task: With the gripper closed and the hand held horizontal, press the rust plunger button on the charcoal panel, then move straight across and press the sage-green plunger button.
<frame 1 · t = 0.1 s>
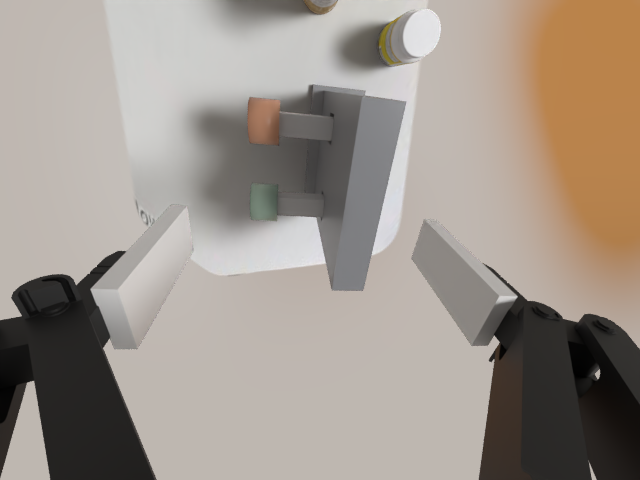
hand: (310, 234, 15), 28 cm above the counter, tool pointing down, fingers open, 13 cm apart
supplement bottle: (393, 44, 35), on the counter
sage button: (300, 204, 34), point 10 cm above the counter, slide at 0.0 cm
button panel: (327, 152, 41), on the counter
rust button: (305, 126, 29), point 10 cm above the counter, slide at 0.0 cm
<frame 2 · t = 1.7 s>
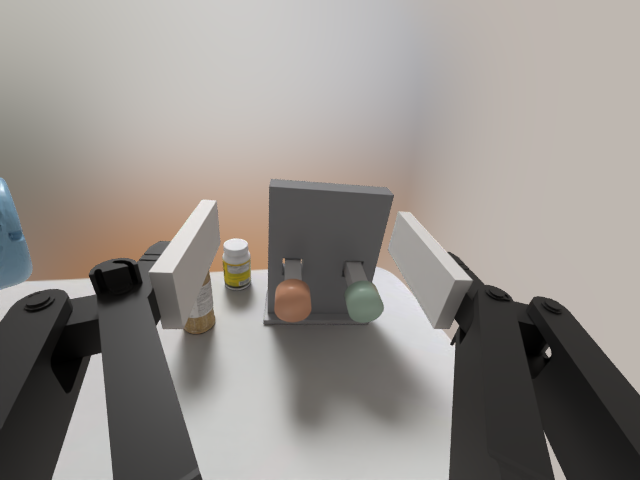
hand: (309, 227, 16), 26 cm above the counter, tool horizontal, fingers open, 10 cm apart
supplement bottle: (238, 283, 51), on the counter
spice jar: (200, 324, 42), on the counter
sage button: (356, 280, 39), point 10 cm above the counter, slide at 0.0 cm
button panel: (315, 310, 47), on the counter
rust button: (292, 278, 37), point 10 cm above the counter, slide at 0.0 cm
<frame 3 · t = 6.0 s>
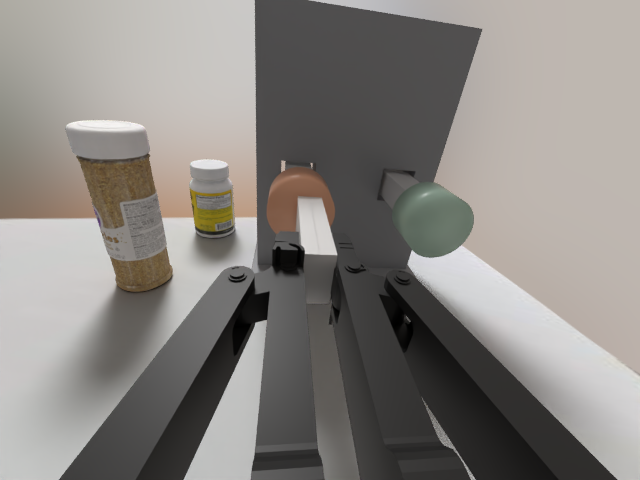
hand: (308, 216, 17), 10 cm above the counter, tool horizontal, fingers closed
supplement bottle: (215, 231, 35), on the counter
spice jar: (147, 279, 26), on the counter
sage button: (406, 196, 23), point 10 cm above the counter, slide at 0.0 cm
button panel: (331, 264, 31), on the counter
rust button: (298, 184, 23), point 10 cm above the counter, slide at 1.3 cm, touching gripper
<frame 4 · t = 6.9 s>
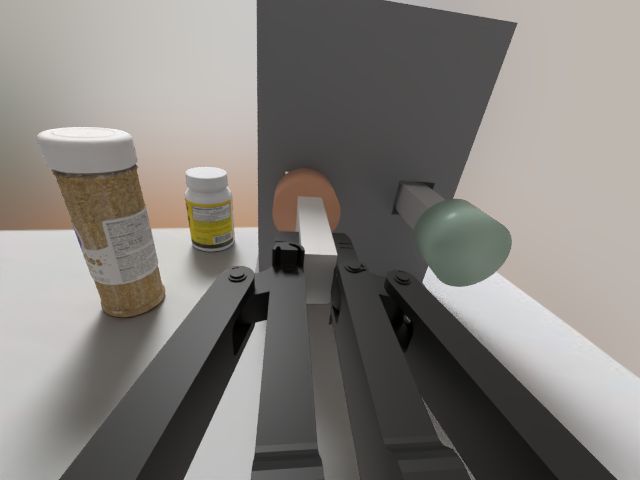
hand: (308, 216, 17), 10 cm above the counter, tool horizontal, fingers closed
supplement bottle: (214, 243, 32), on the counter
spice jar: (137, 301, 23), on the counter
sage button: (426, 212, 20), point 10 cm above the counter, slide at 0.0 cm
button panel: (339, 281, 28), on the counter
rust button: (302, 185, 23), point 10 cm above the counter, slide at 4.3 cm, touching gripper
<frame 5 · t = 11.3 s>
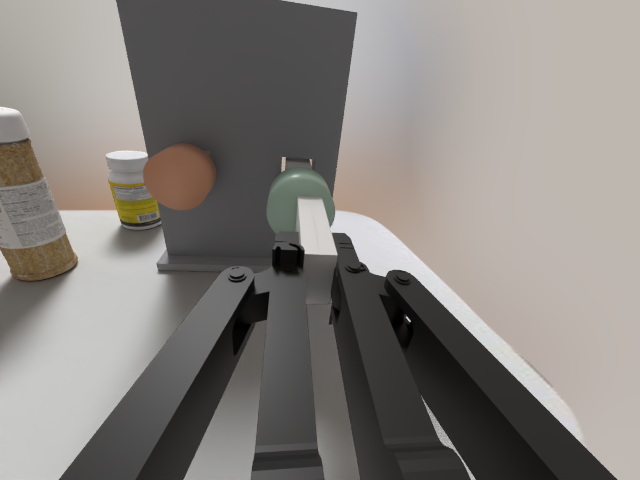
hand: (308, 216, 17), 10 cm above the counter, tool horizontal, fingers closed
supplement bottle: (144, 223, 35), on the counter
spice jar: (49, 269, 25), on the counter
sage button: (298, 184, 22), point 10 cm above the counter, slide at 0.1 cm, touching gripper
button panel: (250, 256, 30), on the counter
rust button: (198, 162, 25), point 10 cm above the counter, slide at 4.3 cm
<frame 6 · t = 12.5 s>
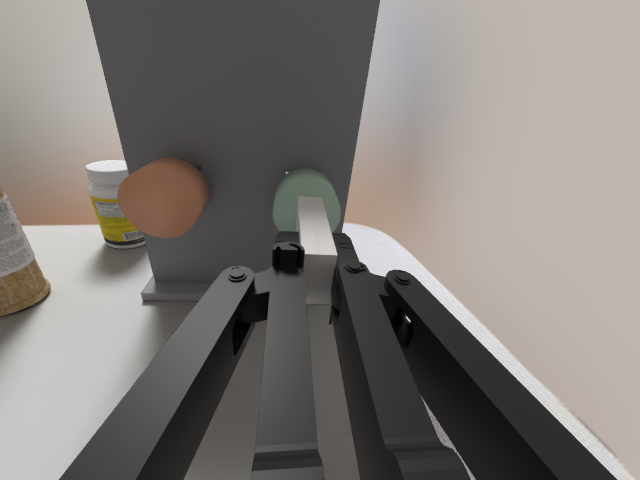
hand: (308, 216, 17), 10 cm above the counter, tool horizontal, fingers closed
supplement bottle: (131, 240, 31), on the counter
spice jar: (16, 300, 22), on the counter
sage button: (303, 185, 23), point 10 cm above the counter, slide at 4.3 cm, touching gripper
button panel: (250, 280, 27), on the counter
rust button: (188, 177, 21), point 10 cm above the counter, slide at 4.3 cm
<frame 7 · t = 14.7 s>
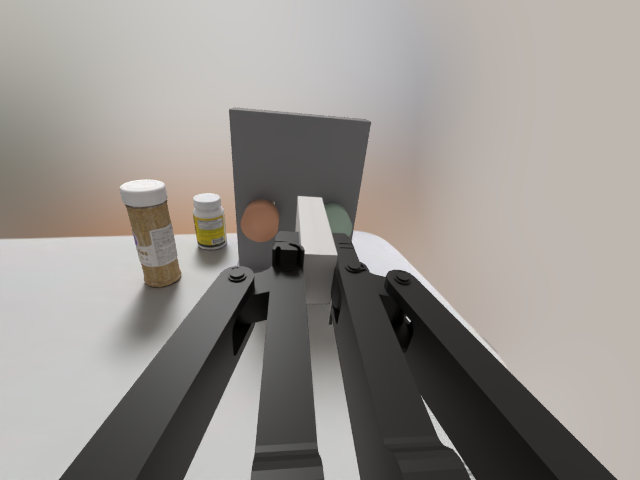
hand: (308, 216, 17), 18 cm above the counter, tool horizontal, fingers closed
supplement bottle: (212, 244, 47), on the counter
spice jar: (164, 279, 38), on the counter
sage button: (329, 210, 38), point 10 cm above the counter, slide at 4.3 cm
button panel: (294, 268, 43), on the counter
rust button: (264, 207, 37), point 10 cm above the counter, slide at 4.3 cm
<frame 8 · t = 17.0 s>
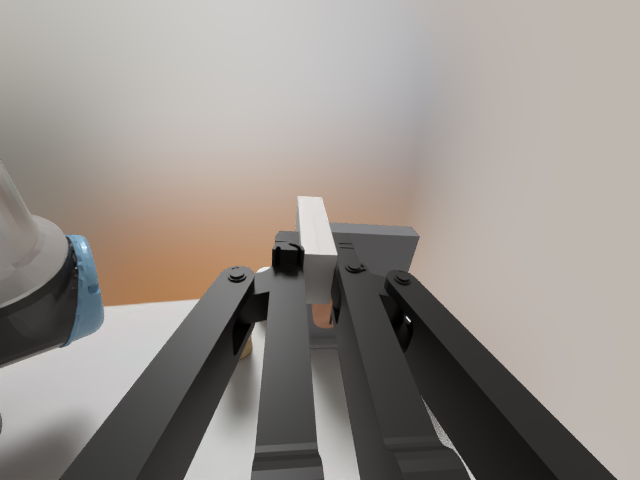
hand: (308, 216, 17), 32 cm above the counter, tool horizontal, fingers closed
button panel: (341, 334, 50), on the counter
rust button: (323, 291, 45), point 10 cm above the counter, slide at 4.3 cm
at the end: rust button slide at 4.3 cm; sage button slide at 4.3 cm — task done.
